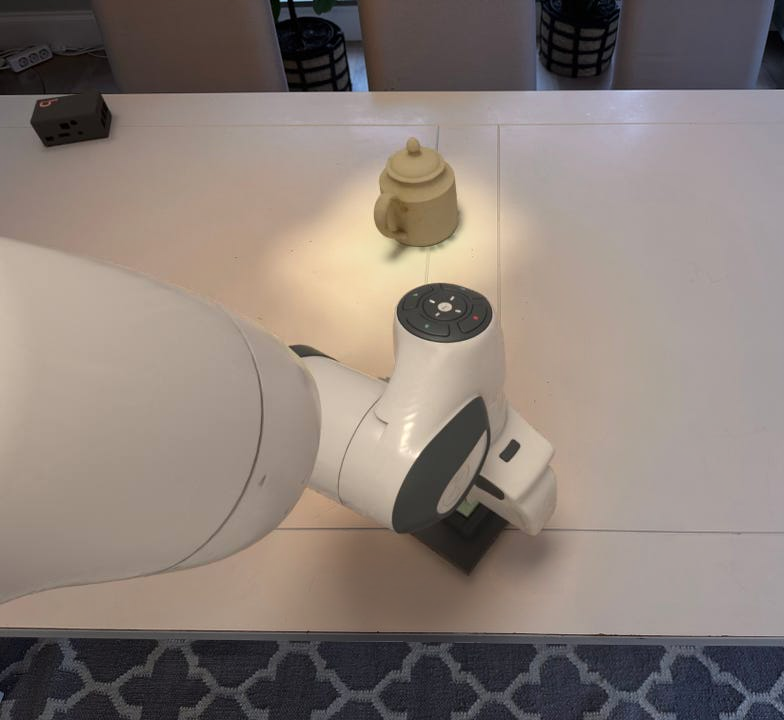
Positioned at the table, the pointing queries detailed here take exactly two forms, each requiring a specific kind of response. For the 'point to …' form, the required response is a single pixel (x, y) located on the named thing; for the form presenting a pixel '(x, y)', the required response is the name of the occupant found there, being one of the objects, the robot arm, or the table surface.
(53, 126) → the electronic device
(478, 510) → the dark grey stepped base
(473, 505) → the near key
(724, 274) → the table surface
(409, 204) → the sugar bowl
